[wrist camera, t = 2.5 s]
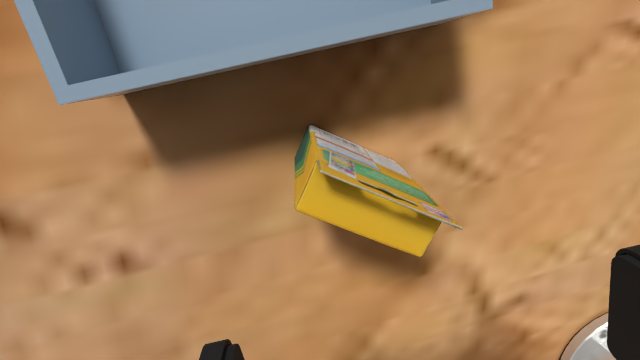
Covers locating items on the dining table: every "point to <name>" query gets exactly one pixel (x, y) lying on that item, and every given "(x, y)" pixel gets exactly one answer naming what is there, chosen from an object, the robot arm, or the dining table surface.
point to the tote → (203, 36)
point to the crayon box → (364, 193)
